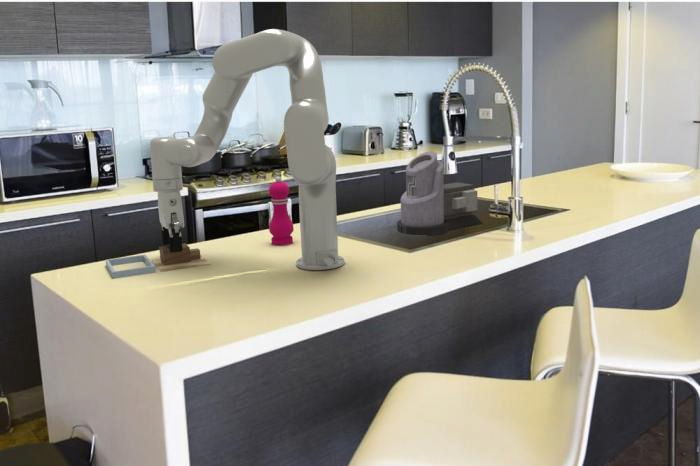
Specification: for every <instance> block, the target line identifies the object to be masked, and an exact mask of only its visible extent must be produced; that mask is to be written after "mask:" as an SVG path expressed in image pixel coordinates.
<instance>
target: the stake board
mask: <svg viewBox="0 0 700 466" xmlns="http://www.w3.org/2000/svg"><path fill="white" fill-rule="evenodd" d="M200 257H201V259H197V260H191V262H186V263H179V264H172V265H165V266H164V264H163V263H162V262H161V260H160V259H155V260H154V259H153V260H152V261H151V262H152V263H153V264H154V265H155V267H157V269H158V271H160V272H161V273H163V272H169V271H177V270H183V269H190V268H197V267H203V266H204V267H205V266H210V265H212V264H211V263H210V261H208V260H207V259H205V258H204V257H203V256H202V255H201V254H200Z"/></svg>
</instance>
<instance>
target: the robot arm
mask: <svg viewBox="0 0 700 466" xmlns="http://www.w3.org/2000/svg"><path fill="white" fill-rule="evenodd" d="M211 63H212V67H213V70H214V71H213V72H214V73H212V76H211V79H210V80H209V83H208V84H207V87H206V88H205V90H204V92H203V94H202V103H203V107H204V110H203V115H202V118H201V121H200V123H199V125H198V126H197V129H196V131H195V132H194V134H193V135H191V136H188V137H183V138H177V137H172V136H160V137H154V138H152V139H151V140H150V143H149V150H150V164H151V178H152V189H153V192H155V193H157V206H158V216H159V217H158V218H159V223H160V225H161V241H162V245H163V246H169V247H170V252H171V253H172V252H181V251H182V244H183V239H182V232H181V229H182V228H184V227H185V218H184V209H183V202H182V195H181V191H182V190H184V189H183V173H182V167H185V168H192V167H193V168H194V167H196V166H199V165H201V164H204V163H207V162H209V161H210V160H212V159H213V158H214V156H215V155H216V154H217V152H218V150H219V148H220V147H221V144H222V143H223V141H224V139H225V136H226V134H227V132H228V130H229V126H230V123H231V121H232V117H233V112H234V110H235V109H236V107H237V105H238V103H239V101H240V99H241V97H242V95H243V93H244V92H245V89H246V88H247V85H248V84H249V82H250V79H251V78H252V76H253V75H254V74H255V73H257V72H261V71H264V70H266V69H267V70H268V69H270V68H273V67H285V68H287V71H288V74H289V91H290V95H291V97H290V99H291V105H290V106H289V107H288V108H287V110H286V112H285V114H284V118H283V131H284V141H285V148H286V155H287V165H288V170H289V173H290V175H291V177H292V178H293V179H294V180H295V181H296V182H297V183H298V207H299V208H298V209H299V226H300V227H299V228H300V229H299V230H300V244H301V245H300V247H301V249H300V250H301V257H299V258H298V259H296V261H295V265H296V267H298V268H299V269H301V270H306V271H307V270H309V271H324V270H331V269H332V270H333V269H337V268H340V267H342V266H343V265H344V264H345V257H343V256H341V255H339V241H338V240H339V239H338V221H337V220H338V219H337V218H338V217H337V216H338V215H337V214H338V213H337V194H336V193H337V188H336V187H337V186H336V181H337V180H336V179H337V161H336V157H335V154H334V152H333V150H332V149H331V148H330V147H329V146H328V145H326V141H325V140H326V138H325V131H327V128H328V126H329V112H328V106H327V97H326V89H325V83H324V81H325V80H324V75H323V68H322V62H321V57H320V55H319V53H318V51H317V49H316V48H315V46H314V45H313V44H312V43H311V42H310V41H309V40H308V39H306V38H304V37H303V36H300V35H299V34H296V33H293V32H291V31H287V30H284V29H278V28H271V29H270V28H269V29H268V28H267V29H265V30H262V31H259V32H257V33H254V34H251V35H247V36H244V37H242V38H239V39H236V40H233V41H230V42H227V43H224V44H222V45H220V46H219V47H217V49H216V50H215V52H214V54H213V57H212V62H211Z"/></svg>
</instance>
